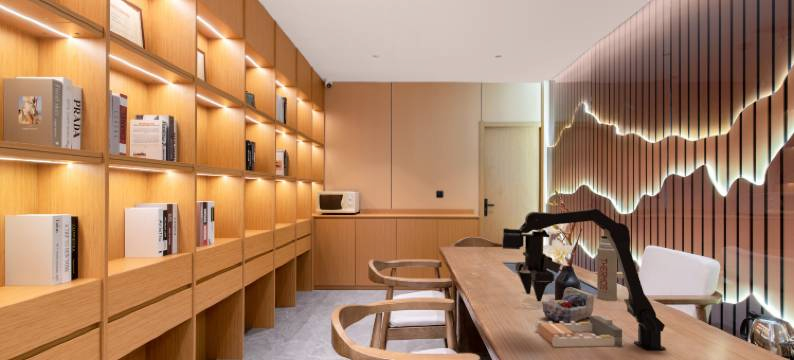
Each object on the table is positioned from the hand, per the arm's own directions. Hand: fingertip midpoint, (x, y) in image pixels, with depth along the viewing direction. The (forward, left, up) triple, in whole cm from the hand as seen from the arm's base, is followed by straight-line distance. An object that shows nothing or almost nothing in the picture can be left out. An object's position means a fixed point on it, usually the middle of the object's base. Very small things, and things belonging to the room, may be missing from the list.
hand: (533, 297), depth 144 cm
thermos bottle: (+49, -54, -14) cm, 74 cm away
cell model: (+21, -22, -14) cm, 33 cm away
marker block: (-1, -8, -14) cm, 16 cm away
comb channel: (-1, -15, -13) cm, 20 cm away
